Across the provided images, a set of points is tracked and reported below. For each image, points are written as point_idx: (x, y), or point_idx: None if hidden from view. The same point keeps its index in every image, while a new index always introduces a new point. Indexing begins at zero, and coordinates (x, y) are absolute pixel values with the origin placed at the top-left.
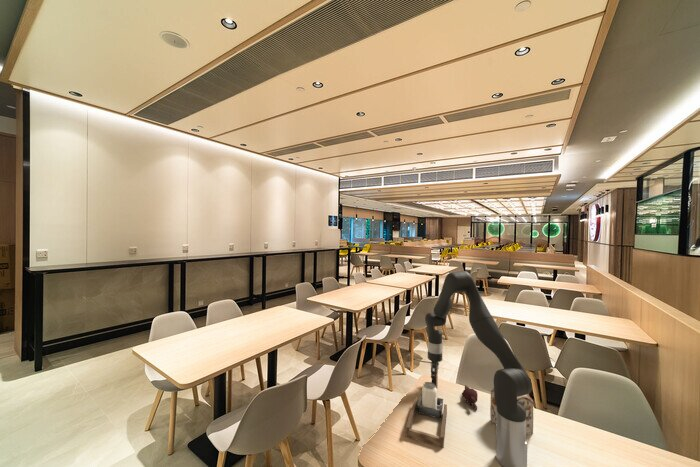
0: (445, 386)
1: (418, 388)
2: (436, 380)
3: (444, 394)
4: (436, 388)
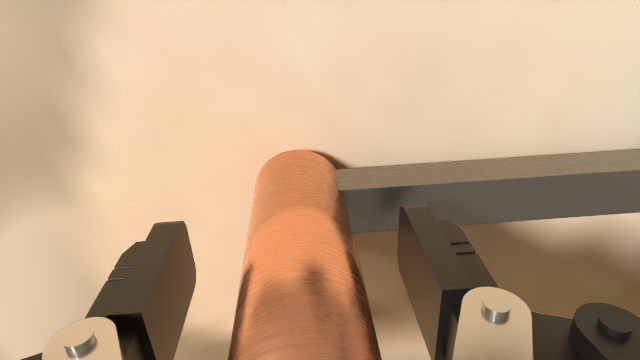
0: (130, 39)
1: (380, 332)
2: (342, 238)
3: (394, 25)
4: (328, 164)
